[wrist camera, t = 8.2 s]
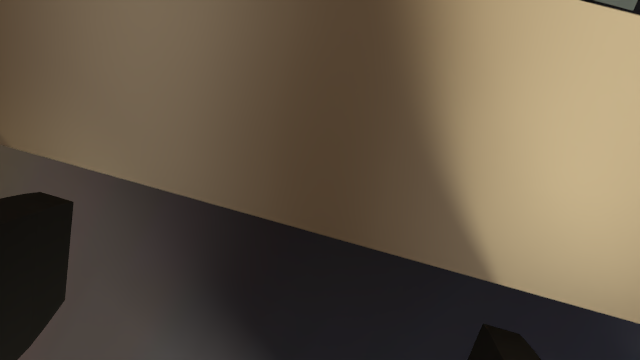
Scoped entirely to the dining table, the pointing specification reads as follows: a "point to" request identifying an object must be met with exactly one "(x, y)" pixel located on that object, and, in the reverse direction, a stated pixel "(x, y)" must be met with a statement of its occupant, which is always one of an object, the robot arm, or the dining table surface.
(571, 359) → the dining table surface
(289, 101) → the tan rectangular block
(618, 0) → the bracket
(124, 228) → the dining table surface
